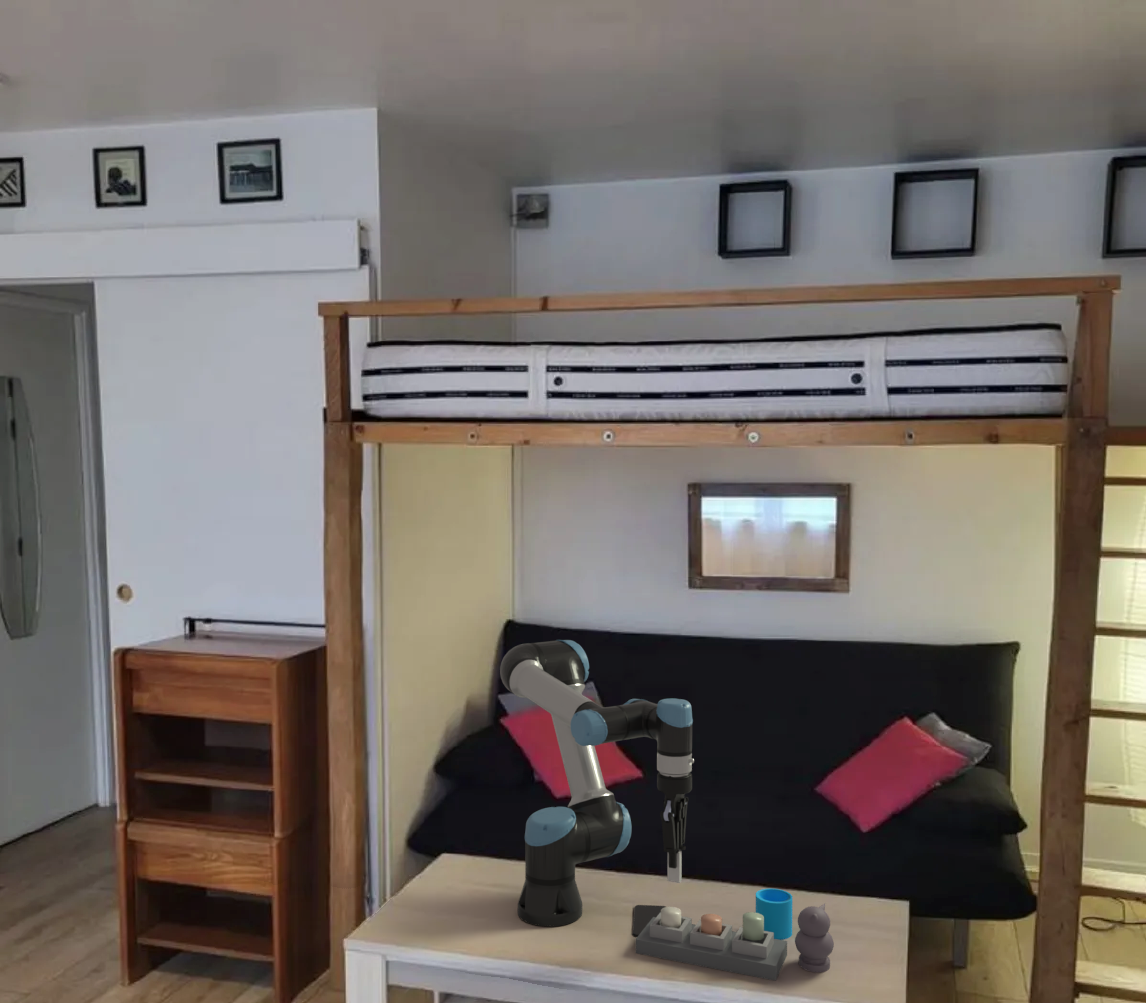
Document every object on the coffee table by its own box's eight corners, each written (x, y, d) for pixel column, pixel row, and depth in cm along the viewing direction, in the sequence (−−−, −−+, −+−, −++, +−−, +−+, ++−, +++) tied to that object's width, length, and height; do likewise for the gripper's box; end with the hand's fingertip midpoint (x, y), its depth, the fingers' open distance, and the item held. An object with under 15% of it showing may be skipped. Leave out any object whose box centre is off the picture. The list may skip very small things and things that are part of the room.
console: (635, 953, 214) (635, 928, 214) (653, 930, 225) (653, 906, 225) (775, 980, 203) (775, 954, 202) (787, 955, 214) (787, 930, 213)
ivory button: (658, 931, 216) (658, 913, 216) (664, 923, 220) (664, 905, 220) (677, 935, 214) (677, 916, 214) (683, 927, 218) (683, 908, 218)
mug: (789, 942, 219) (789, 905, 219) (752, 936, 222) (752, 900, 222) (797, 920, 231) (797, 885, 231) (761, 914, 234) (762, 880, 233)
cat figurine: (801, 952, 215) (802, 896, 215) (838, 961, 211) (838, 904, 211) (789, 968, 208) (789, 911, 207) (826, 978, 204) (827, 919, 203)
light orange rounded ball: (698, 939, 213) (698, 920, 213) (704, 930, 217) (704, 912, 217) (718, 943, 211) (718, 924, 211) (724, 934, 215) (724, 915, 215)
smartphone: (667, 940, 221) (667, 909, 237) (667, 936, 221) (667, 905, 237) (632, 939, 222) (634, 908, 238) (632, 935, 222) (634, 904, 238)
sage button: (740, 938, 209) (740, 919, 209) (745, 929, 213) (745, 910, 213) (761, 942, 207) (761, 922, 207) (765, 933, 211) (765, 914, 211)
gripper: (682, 782, 209) (682, 894, 209) (699, 766, 221) (699, 872, 221) (648, 778, 212) (648, 889, 212) (667, 762, 224) (667, 867, 224)
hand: (674, 880), depth 217 cm, fingers closed
